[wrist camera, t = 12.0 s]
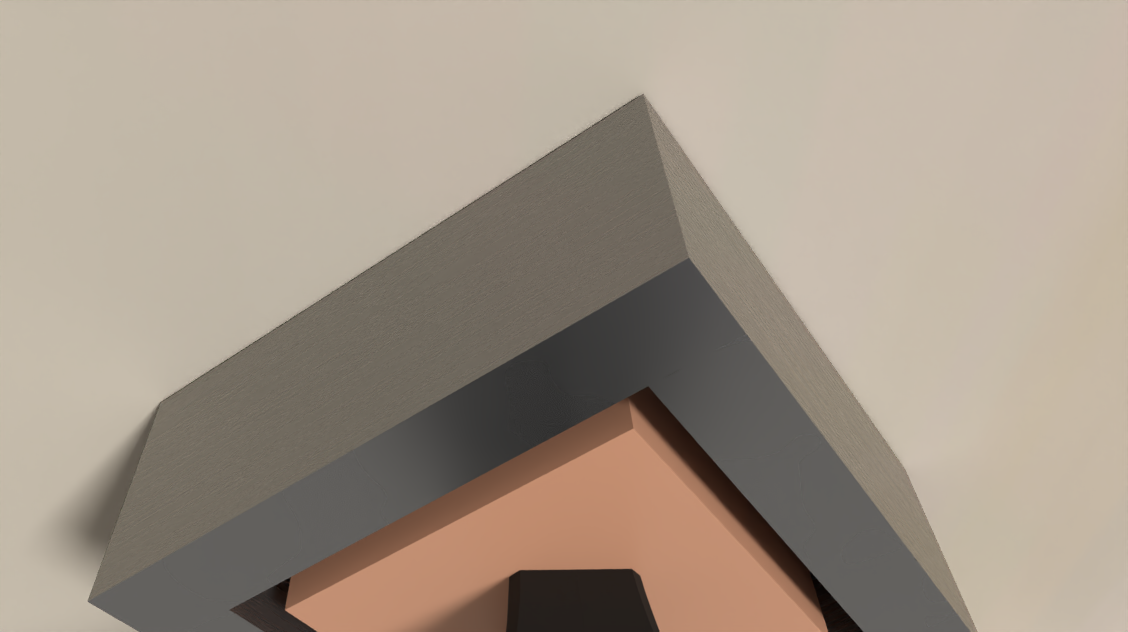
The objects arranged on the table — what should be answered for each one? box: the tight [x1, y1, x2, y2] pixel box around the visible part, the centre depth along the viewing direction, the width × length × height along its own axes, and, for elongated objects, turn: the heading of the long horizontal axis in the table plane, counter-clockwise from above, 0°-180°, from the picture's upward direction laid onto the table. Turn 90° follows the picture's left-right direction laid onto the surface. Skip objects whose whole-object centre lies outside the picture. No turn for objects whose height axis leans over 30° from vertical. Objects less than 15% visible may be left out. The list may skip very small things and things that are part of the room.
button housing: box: [87, 94, 977, 632], centre depth 12 cm, size 7×7×3 cm
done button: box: [285, 387, 828, 632], centre depth 12 cm, size 4×4×2 cm
